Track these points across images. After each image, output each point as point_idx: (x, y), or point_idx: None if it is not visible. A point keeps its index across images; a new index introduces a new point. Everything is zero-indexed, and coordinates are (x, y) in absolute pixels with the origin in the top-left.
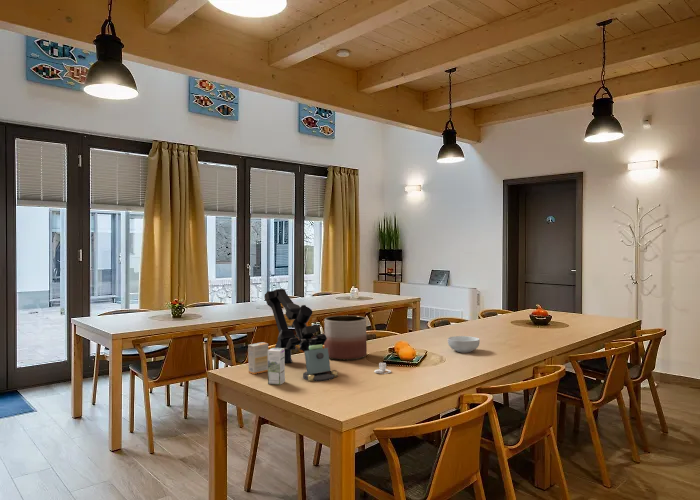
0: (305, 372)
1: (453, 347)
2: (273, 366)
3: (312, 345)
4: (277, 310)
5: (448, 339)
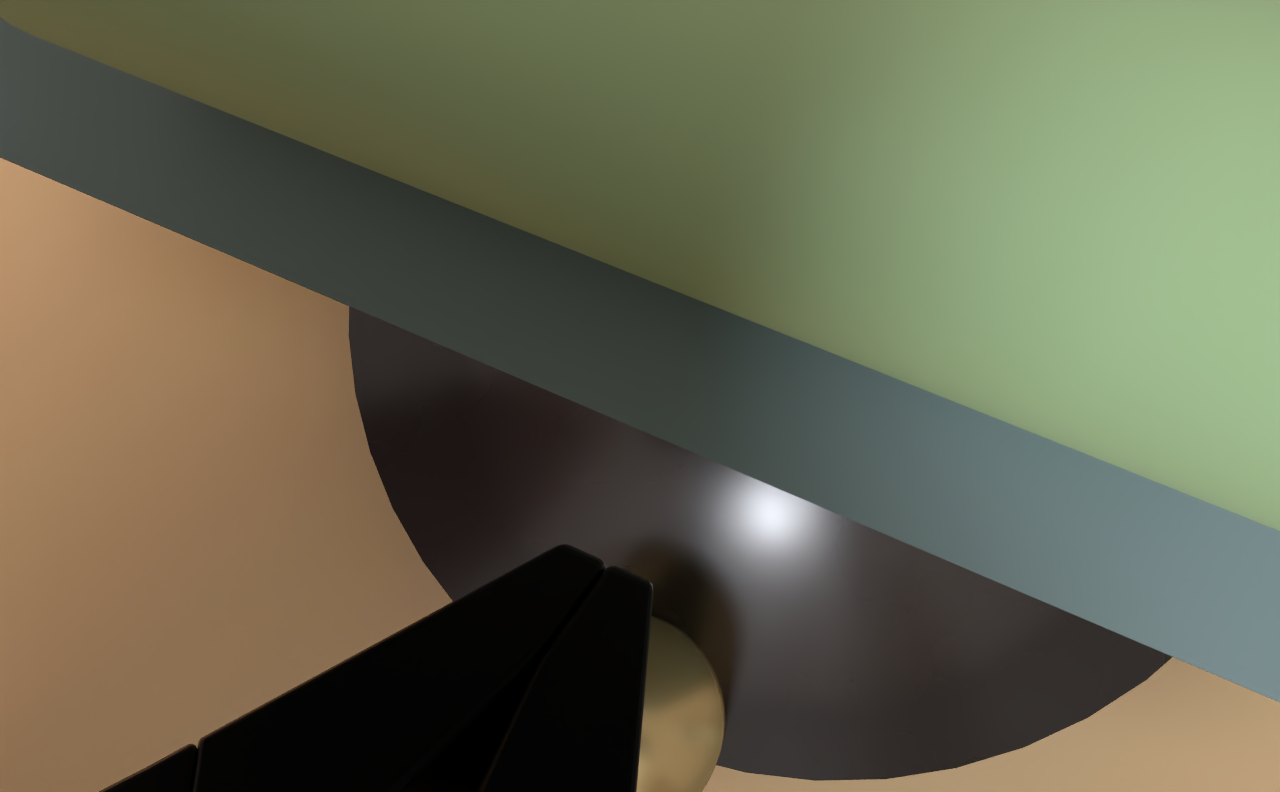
0: (962, 718)
1: None
2: None
3: (1162, 22)
4: None
5: None
